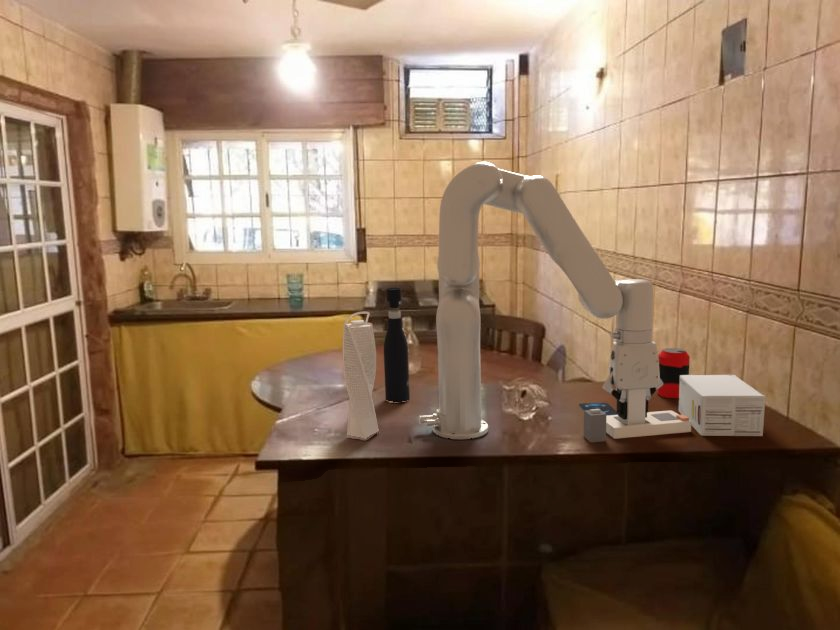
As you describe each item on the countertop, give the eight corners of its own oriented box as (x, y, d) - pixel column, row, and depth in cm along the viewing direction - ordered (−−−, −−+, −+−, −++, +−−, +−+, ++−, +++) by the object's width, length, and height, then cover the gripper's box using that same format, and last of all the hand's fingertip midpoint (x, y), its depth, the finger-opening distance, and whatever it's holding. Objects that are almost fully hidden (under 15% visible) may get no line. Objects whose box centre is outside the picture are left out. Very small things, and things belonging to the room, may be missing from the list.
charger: (628, 425, 140) (628, 389, 139) (619, 419, 144) (620, 384, 143) (645, 423, 141) (645, 388, 139) (636, 417, 145) (636, 383, 143)
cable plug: (590, 442, 136) (591, 412, 135) (583, 436, 140) (584, 407, 139) (605, 441, 137) (606, 411, 136) (598, 435, 140) (599, 406, 139)
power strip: (614, 438, 138) (614, 425, 137) (598, 426, 146) (598, 413, 145) (690, 431, 141) (691, 418, 140) (671, 420, 149) (671, 407, 148)
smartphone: (607, 402, 163) (627, 421, 148) (607, 404, 163) (627, 423, 148) (577, 403, 163) (594, 422, 148) (577, 405, 163) (594, 424, 148)
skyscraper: (359, 428, 150) (353, 310, 145) (386, 432, 146) (381, 311, 141) (339, 439, 143) (333, 315, 138) (368, 444, 139) (362, 317, 135)
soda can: (679, 401, 163) (681, 355, 161) (651, 395, 168) (653, 350, 166) (693, 394, 168) (695, 350, 166) (665, 389, 173) (667, 346, 171)
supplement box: (677, 411, 155) (678, 374, 153) (733, 412, 154) (735, 374, 152) (700, 436, 138) (702, 394, 137) (763, 437, 137) (766, 394, 136)
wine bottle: (383, 398, 172) (378, 287, 168) (405, 395, 174) (402, 286, 169) (389, 404, 166) (384, 290, 161) (412, 402, 168) (409, 289, 163)
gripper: (605, 342, 134) (604, 425, 137) (678, 337, 137) (676, 418, 140) (590, 335, 142) (589, 414, 145) (660, 330, 144) (658, 408, 147)
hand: (632, 416), depth 142 cm, fingers closed on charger, 4 cm apart
